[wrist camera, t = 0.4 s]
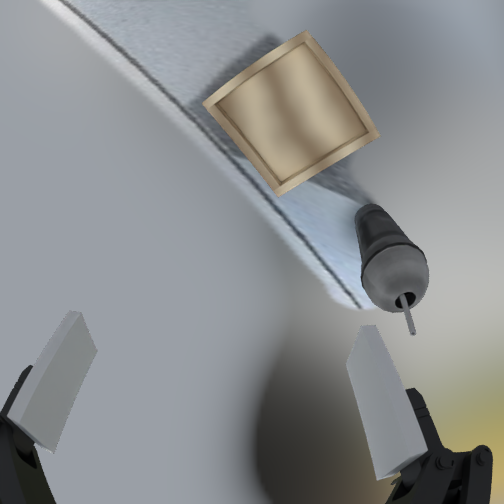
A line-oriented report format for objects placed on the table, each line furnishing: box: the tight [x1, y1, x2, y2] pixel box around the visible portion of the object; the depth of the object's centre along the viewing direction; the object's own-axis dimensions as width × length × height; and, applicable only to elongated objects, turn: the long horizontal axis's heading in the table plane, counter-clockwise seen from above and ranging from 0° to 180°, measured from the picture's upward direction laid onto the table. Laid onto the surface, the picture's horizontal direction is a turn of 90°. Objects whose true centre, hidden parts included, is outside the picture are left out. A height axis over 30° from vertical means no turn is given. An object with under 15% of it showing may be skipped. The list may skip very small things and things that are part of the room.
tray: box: [202, 30, 380, 197], centre depth 27 cm, size 14×14×2 cm
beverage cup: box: [355, 204, 429, 336], centre depth 26 cm, size 7×7×20 cm
